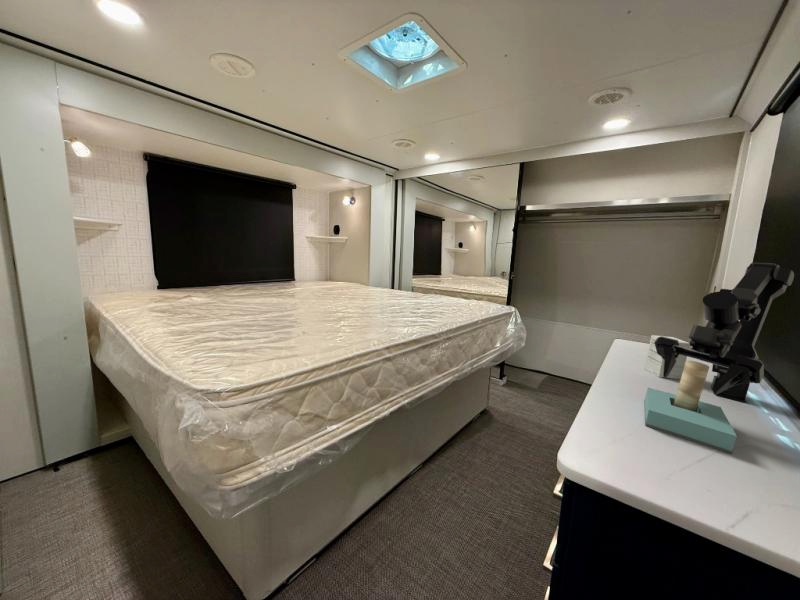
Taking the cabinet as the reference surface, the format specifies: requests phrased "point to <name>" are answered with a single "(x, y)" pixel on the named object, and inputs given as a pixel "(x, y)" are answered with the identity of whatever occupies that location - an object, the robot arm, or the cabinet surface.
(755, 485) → the cabinet surface
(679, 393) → the maple pin
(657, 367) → the supplement box
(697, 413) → the pin block
